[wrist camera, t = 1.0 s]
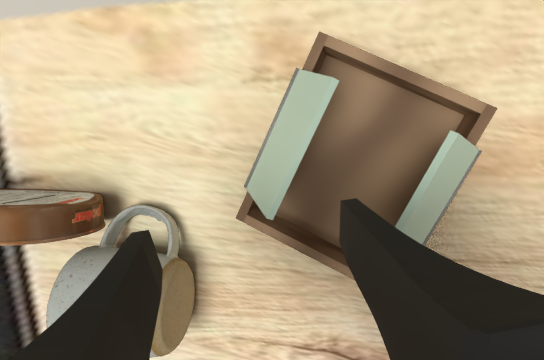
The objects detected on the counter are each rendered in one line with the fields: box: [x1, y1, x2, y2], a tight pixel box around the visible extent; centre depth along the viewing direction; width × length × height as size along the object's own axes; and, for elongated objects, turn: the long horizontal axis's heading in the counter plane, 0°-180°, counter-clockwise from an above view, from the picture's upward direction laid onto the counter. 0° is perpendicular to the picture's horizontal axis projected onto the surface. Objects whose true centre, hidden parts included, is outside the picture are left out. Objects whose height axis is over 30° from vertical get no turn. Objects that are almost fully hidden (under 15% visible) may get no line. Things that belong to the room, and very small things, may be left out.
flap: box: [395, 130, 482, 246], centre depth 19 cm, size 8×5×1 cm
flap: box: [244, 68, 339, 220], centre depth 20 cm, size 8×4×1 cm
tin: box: [0, 189, 105, 246], centre depth 27 cm, size 15×3×8 cm, turn 90°
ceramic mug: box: [46, 205, 195, 357], centre depth 26 cm, size 11×8×8 cm
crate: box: [236, 32, 497, 280], centre depth 23 cm, size 11×13×3 cm
